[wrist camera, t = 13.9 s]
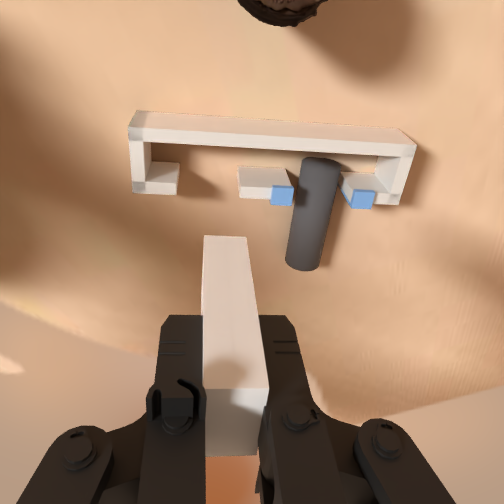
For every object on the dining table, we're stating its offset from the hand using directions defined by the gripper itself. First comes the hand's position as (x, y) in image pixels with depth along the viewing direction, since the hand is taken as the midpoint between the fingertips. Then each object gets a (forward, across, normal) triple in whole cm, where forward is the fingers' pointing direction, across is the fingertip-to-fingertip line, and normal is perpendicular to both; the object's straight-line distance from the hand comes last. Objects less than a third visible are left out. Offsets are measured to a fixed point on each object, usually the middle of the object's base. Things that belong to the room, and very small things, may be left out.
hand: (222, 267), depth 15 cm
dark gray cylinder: (+29, +11, -12) cm, 33 cm away
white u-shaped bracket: (+29, +6, -6) cm, 30 cm away
